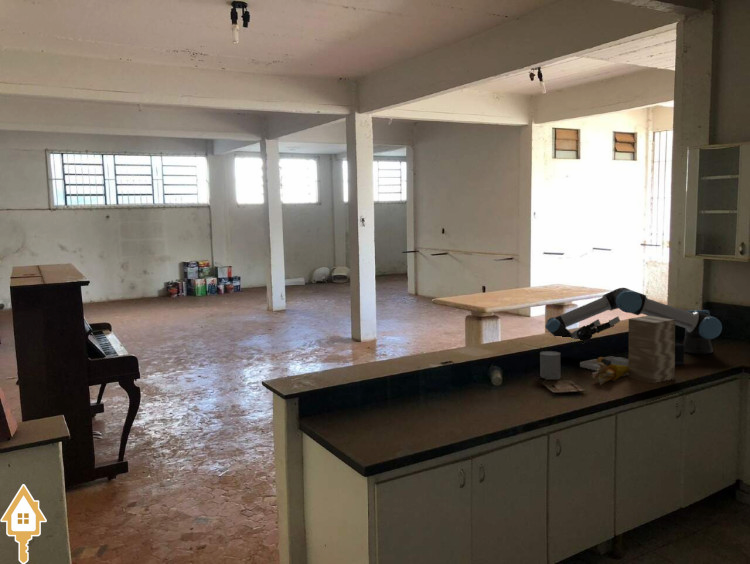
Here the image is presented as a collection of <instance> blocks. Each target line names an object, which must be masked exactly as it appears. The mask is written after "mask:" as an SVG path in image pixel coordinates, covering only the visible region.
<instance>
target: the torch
mask: <svg viewBox="0 0 750 564" xmlns="http://www.w3.org/2000/svg"><path fill="white" fill-rule="evenodd" d="M598 364H599V366H600V368H598V369H596V370H597V371H594V372H592V373H591V374H592V378H593V379H595V380H596V382H599V385H603V384H606V383H607V382H608V381H612V382H615V381H616V380H617V379H619V378H621V377H620V376H623V375H625V374H627V373H628V372H629V367H628V366H622V365H613V364H611V365H609V366H606V365H605V364H604V363H602V362H601V363H598ZM623 377H624V376H623Z"/></svg>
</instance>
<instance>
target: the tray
mask: <svg viewBox="0 0 750 564" xmlns="http://www.w3.org/2000/svg"><path fill="white" fill-rule="evenodd" d="M617 357H618V356H612V355H610V356H604V357H603V358H605V359H607V360H610V361H611V358H617ZM597 360H598V358H594V359H589V360H584V361H580V362H579V367H580V368H582V369H586V368H587V370H590V369H591V370H590V371H594V370H595V371H594V372H597V370H596V369H598V368H600V366H599V364H598V362H597ZM606 366H608V365H606ZM623 377H629V372H628V373H627V374H625V375H623V376H620V377H619V378H623Z"/></svg>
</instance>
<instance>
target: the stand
mask: <svg viewBox="0 0 750 564" xmlns="http://www.w3.org/2000/svg"><path fill="white" fill-rule="evenodd" d="M675 342H676V325H675V319H668V318H661V317H654V316H647V315H645V316H640V317H639V316H638V317H633V318H632V317H631V318H628V359H629V375H628V378H631V379H635V380H638V379H639V380H638V381H643V382H646V381H647V382H646V383H650V382H651V383H650V384H653V383H654V384H658V383H657V382H659V383H661V382H662V381H663V382H667V381H671V379H672V380H675V377H676V375H675V373H676V370H675V369H676V367H675V366H676V365H675ZM666 380H667V381H666Z"/></svg>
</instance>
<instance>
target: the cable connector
mask: <svg viewBox="0 0 750 564" xmlns="http://www.w3.org/2000/svg"><path fill="white" fill-rule="evenodd" d="M616 357H617V358H611V361H610V360H607V359H605V358H604V357H603V356H599V357H598V358H597V359H598V360H597V362H598V363H601V362H602V363H604V364H605V365H608V366H609V365H611V364H613V365H622V366H628V367H629V358H625V357H622V356H616Z"/></svg>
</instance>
